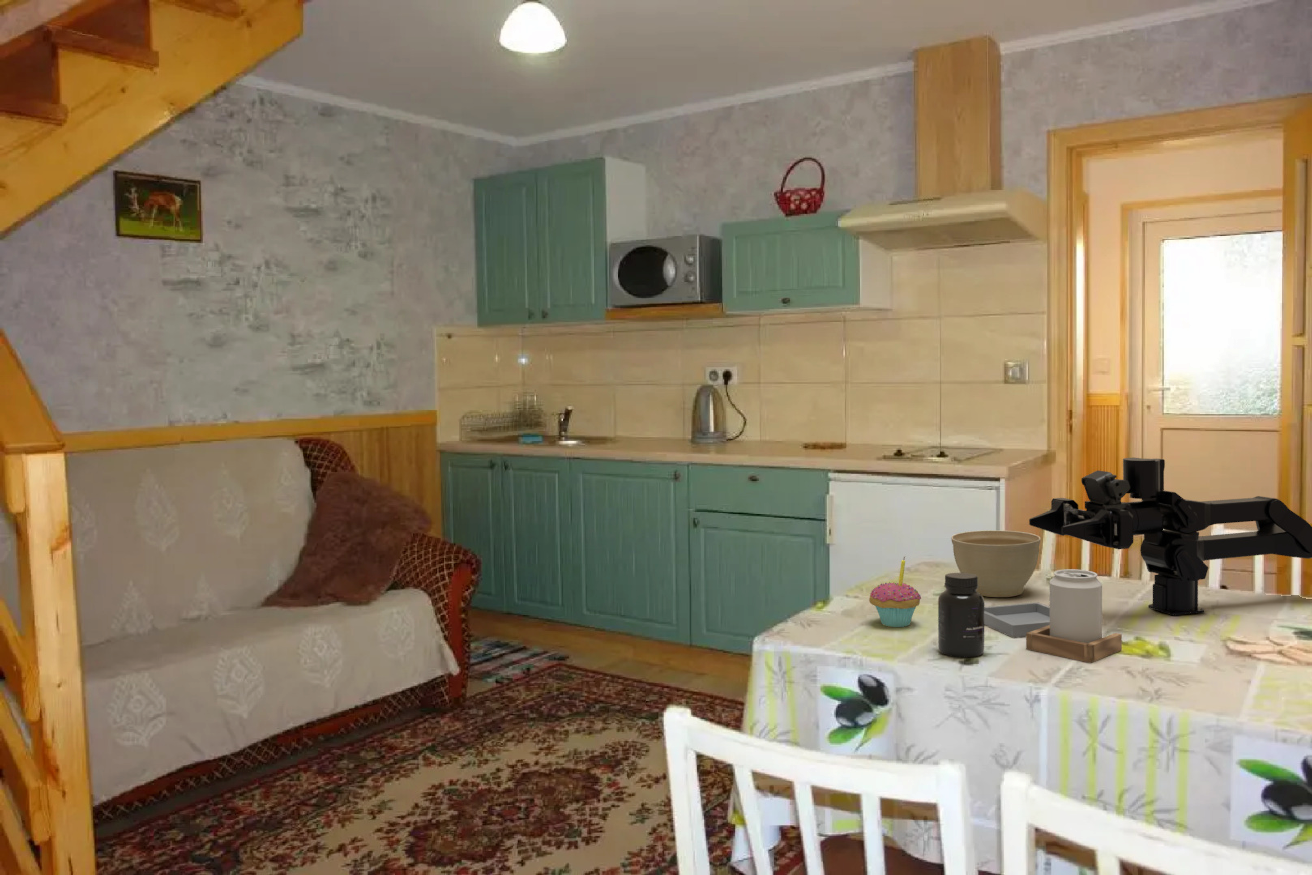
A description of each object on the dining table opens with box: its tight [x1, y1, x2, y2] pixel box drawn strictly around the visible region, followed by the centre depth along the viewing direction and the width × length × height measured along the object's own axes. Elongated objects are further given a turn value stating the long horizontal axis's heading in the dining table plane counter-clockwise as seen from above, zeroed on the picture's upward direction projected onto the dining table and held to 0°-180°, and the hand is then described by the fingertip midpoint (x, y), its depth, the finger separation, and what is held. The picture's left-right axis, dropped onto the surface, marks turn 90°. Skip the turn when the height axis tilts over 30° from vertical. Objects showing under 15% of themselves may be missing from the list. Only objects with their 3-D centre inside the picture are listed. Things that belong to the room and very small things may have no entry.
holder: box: [1025, 625, 1123, 664], centre depth 157 cm, size 9×10×2 cm
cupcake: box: [868, 555, 922, 628], centre depth 175 cm, size 9×8×12 cm
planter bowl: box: [950, 529, 1042, 598], centre depth 196 cm, size 16×16×11 cm
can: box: [1048, 568, 1103, 643], centre depth 157 cm, size 8×8×12 cm
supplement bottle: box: [937, 572, 985, 658], centre depth 157 cm, size 7×7×12 cm
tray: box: [984, 601, 1050, 638], centre depth 172 cm, size 13×13×2 cm
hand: (1045, 525), depth 172 cm, fingers open, 9 cm apart
